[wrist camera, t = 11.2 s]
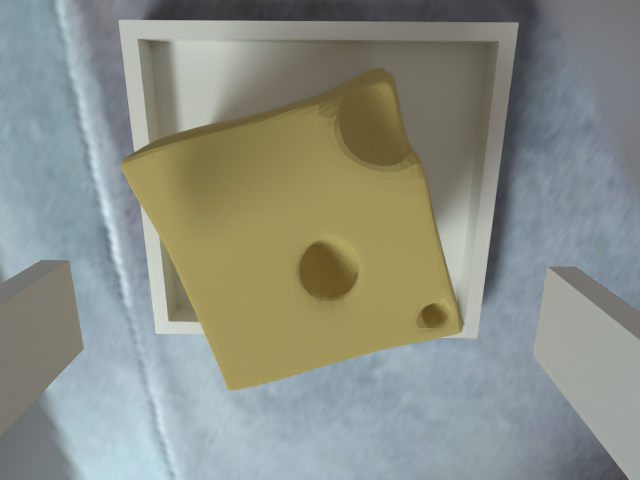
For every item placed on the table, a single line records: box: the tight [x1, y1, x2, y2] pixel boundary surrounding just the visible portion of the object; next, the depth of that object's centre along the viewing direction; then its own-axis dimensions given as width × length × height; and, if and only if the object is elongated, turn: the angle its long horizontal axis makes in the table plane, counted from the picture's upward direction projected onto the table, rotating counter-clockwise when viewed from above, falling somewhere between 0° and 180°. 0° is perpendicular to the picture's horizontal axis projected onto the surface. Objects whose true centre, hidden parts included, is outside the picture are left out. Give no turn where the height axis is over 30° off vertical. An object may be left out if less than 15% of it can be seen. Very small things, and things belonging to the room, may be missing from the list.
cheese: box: [121, 67, 463, 390], centre depth 21 cm, size 10×11×10 cm
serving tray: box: [119, 20, 519, 338], centre depth 25 cm, size 17×19×2 cm
